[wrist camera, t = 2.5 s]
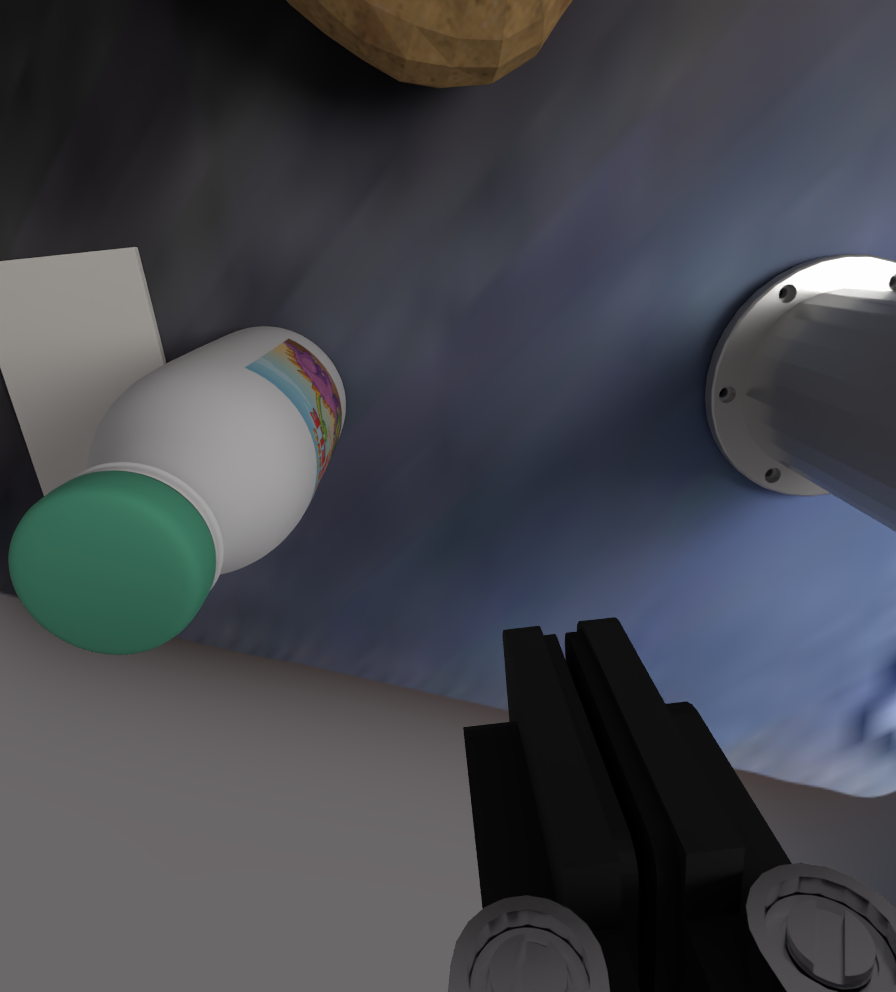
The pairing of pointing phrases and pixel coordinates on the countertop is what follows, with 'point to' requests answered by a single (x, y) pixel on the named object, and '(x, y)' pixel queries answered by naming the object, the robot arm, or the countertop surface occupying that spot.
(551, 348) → the countertop surface
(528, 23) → the potato
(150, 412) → the milk bottle
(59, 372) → the pad
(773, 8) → the countertop surface
